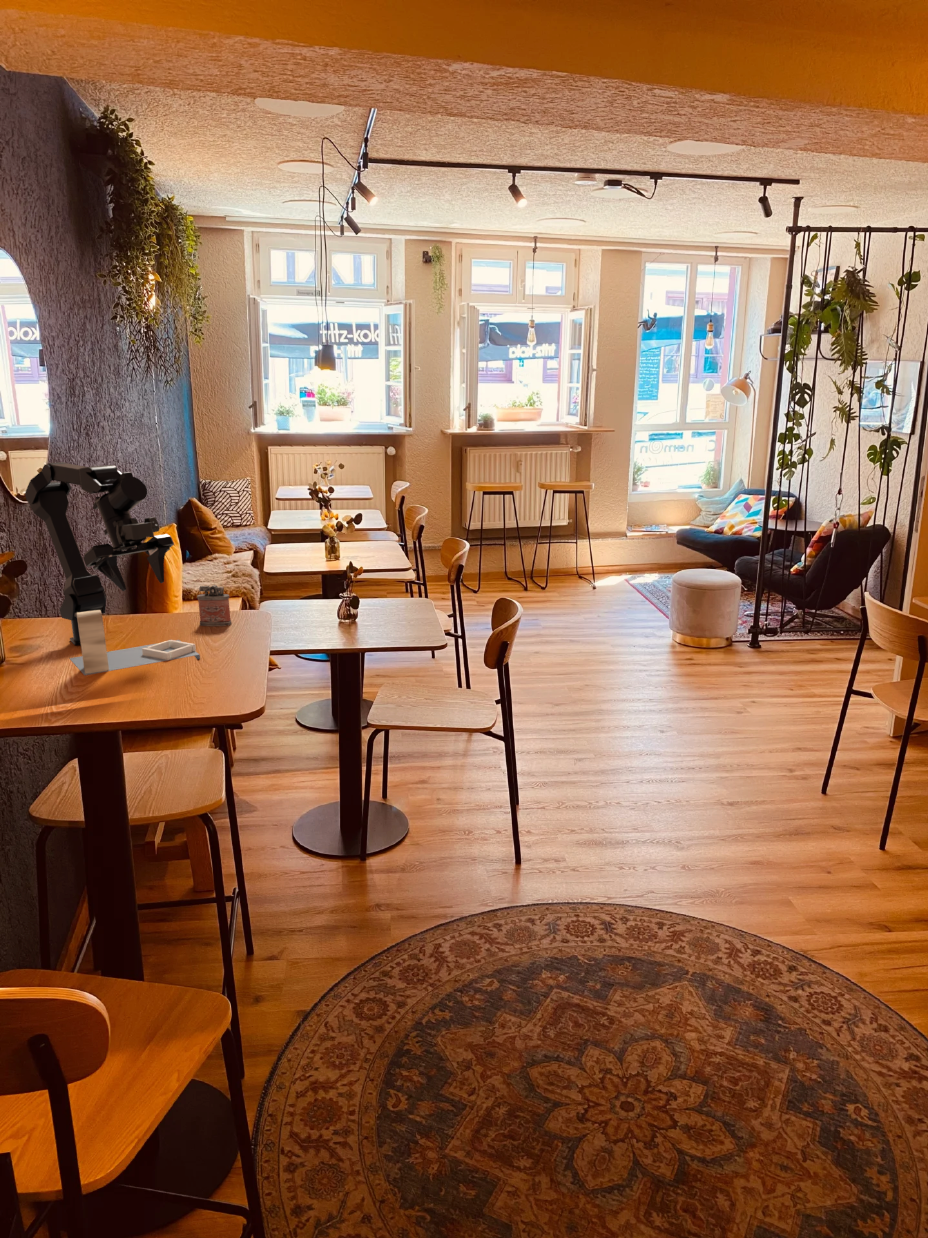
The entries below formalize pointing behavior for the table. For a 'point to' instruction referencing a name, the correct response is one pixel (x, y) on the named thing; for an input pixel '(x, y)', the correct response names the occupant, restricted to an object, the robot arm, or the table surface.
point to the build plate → (129, 658)
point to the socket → (181, 650)
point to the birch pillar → (92, 641)
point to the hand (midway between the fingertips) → (143, 586)
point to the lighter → (214, 606)
